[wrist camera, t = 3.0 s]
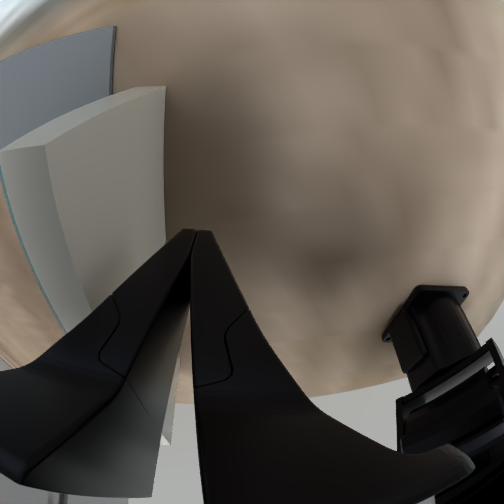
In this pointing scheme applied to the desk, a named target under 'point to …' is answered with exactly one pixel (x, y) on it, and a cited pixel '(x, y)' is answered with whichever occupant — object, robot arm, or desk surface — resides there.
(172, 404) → the glazed tile
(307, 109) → the desk surface
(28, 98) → the rubber mat
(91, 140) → the glazed tile
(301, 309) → the desk surface
